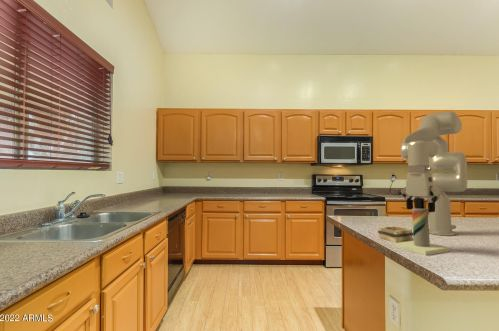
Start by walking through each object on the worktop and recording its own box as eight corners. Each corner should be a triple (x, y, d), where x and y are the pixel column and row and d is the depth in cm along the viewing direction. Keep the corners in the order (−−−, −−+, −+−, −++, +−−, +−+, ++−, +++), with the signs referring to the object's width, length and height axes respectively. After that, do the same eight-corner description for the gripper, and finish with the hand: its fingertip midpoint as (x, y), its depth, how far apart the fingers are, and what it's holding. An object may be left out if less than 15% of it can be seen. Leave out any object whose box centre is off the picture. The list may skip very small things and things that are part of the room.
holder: (394, 235, 139) (393, 225, 139) (413, 240, 129) (413, 229, 129) (377, 237, 135) (377, 227, 135) (396, 242, 125) (396, 231, 125)
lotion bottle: (418, 242, 118) (416, 196, 119) (432, 245, 113) (430, 197, 114) (410, 244, 115) (408, 197, 116) (424, 247, 110) (422, 197, 111)
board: (417, 243, 123) (417, 240, 123) (449, 251, 110) (449, 247, 110) (394, 246, 118) (394, 243, 118) (425, 255, 105) (425, 251, 105)
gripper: (445, 169, 109) (447, 212, 108) (406, 170, 125) (408, 207, 125) (432, 170, 106) (434, 214, 106) (394, 170, 122) (396, 208, 122)
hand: (420, 210), depth 115 cm, fingers open, 9 cm apart
